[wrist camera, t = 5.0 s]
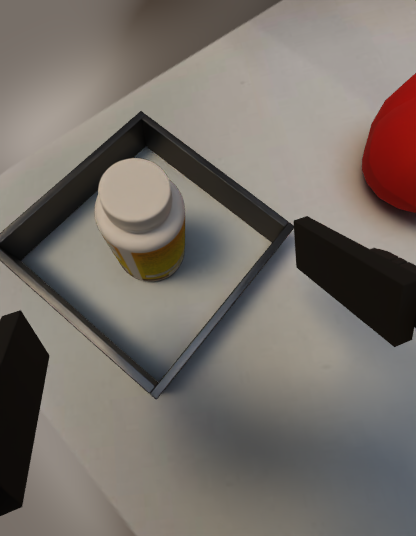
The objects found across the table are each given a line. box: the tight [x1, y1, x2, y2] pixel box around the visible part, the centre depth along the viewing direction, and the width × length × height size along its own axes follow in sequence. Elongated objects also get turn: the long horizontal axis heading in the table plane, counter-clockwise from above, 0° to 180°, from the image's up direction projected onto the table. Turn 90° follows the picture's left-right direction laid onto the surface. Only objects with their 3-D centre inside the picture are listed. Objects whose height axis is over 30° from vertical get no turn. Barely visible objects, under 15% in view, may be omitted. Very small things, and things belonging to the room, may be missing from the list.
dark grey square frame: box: [0, 111, 294, 400], centre depth 25 cm, size 16×16×4 cm
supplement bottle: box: [95, 158, 185, 281], centre depth 22 cm, size 6×6×10 cm
